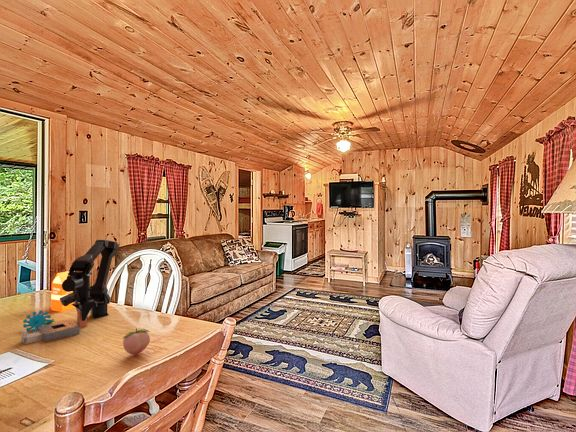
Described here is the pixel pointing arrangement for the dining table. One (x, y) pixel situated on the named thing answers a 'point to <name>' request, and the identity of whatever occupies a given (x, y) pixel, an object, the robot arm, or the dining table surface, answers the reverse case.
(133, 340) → the decorative fruit
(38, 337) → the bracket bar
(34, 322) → the gear
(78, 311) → the terracotta rectangular prism
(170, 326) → the dining table surface
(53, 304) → the orange juice
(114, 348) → the dining table surface
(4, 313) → the dining table surface
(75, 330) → the grey square hole block
